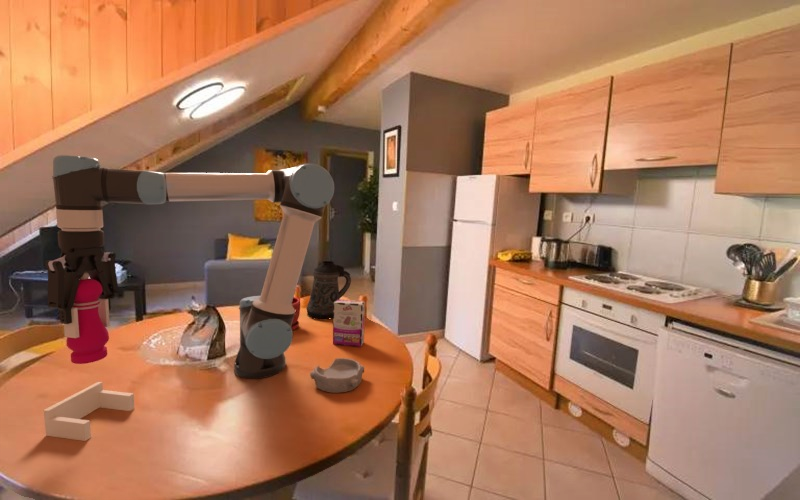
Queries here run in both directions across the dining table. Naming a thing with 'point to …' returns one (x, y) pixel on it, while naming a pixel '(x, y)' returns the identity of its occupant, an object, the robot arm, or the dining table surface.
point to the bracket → (83, 411)
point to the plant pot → (297, 307)
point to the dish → (338, 376)
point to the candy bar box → (348, 322)
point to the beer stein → (326, 289)
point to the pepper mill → (88, 324)
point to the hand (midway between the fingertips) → (88, 330)
